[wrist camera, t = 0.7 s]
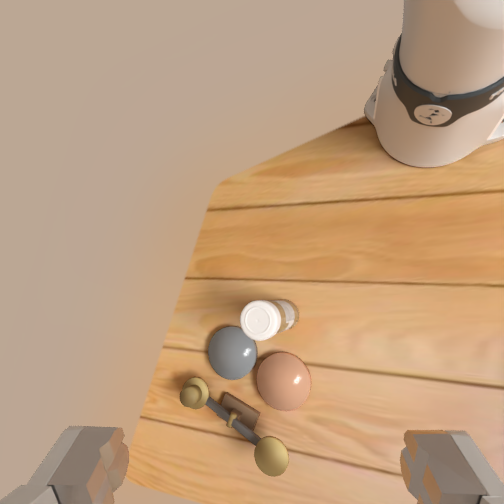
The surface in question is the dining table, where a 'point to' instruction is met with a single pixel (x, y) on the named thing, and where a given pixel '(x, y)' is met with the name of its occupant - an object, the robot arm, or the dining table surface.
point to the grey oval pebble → (232, 353)
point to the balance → (239, 424)
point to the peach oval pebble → (284, 381)
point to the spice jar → (268, 318)
